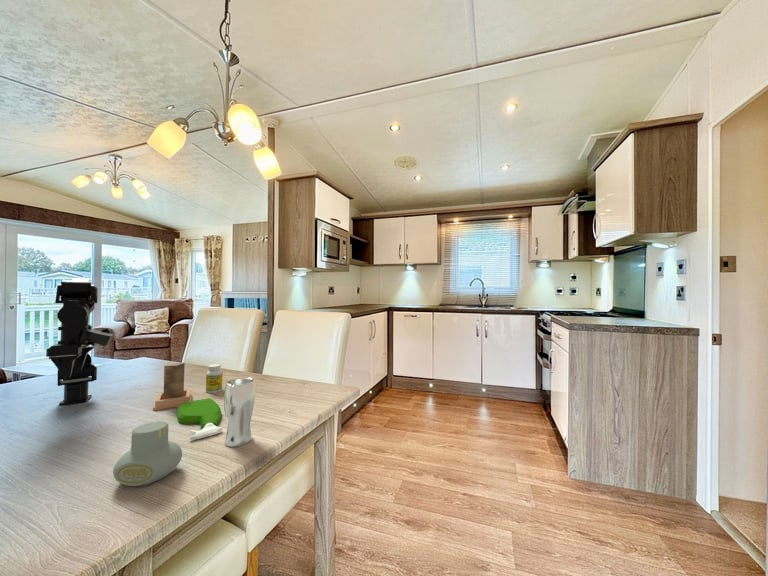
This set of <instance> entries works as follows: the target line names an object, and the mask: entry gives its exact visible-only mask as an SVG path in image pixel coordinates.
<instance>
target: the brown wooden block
mask: <svg viewBox="0 0 768 576" xmlns="http://www.w3.org/2000/svg"><path fill="white" fill-rule="evenodd" d="M185 364H186V363H185V362H172V363H169V364H165V365H164V368H163V369H164V370H163V372H164V373H163V393H164V396H163V400H164V399H171V398H178V397H184V390H185V368H186V367H185Z"/></svg>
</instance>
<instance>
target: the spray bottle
mask: <svg viewBox="0 0 768 576" xmlns="http://www.w3.org/2000/svg"><path fill="white" fill-rule="evenodd" d="M221 415H222V411H221V408H220V405H219V404H218V403H217V402H216V401H215V400H214V399H213V398H210V397H207V398H202V399H197V400H191V401H190V402H185V403H182V404H181V405H180V406H179V407H178V408H177V410H176V417H177V421H178V422H179V424H180V423H181V424H185V425H186V424H188V425H191V424H195V425H197V424H198V425H199V424H200V430H196V429H194V430H193V429H191V430H190V431H189V432H190V433H192V435H190V436H189V442H190V441H194V440H200V439H204V438H207V437H212V436H214V435H218V434H220V433H222V432H223V427H222V426H218V423H219V422H220V418H221V417H222V416H221Z"/></svg>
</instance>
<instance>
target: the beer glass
mask: <svg viewBox="0 0 768 576" xmlns="http://www.w3.org/2000/svg"><path fill="white" fill-rule="evenodd" d="M255 391H256V390H255V379H254V378H251V377H237V378H232V379H229V380H227V381H226V382H225V385H224V393H223V394H224V395H223V406H224V416H225V421H226V436H225V439H224V445H225V446H227V447H229V448H231V447H232V448H236V447H242V446H244V445H247V444H249V442H251V441H252V439H253V438H252V436H253V435H252V431H251V422H252V415H253V411H254V406H255V399H256V398H255V394H256V393H255Z"/></svg>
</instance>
